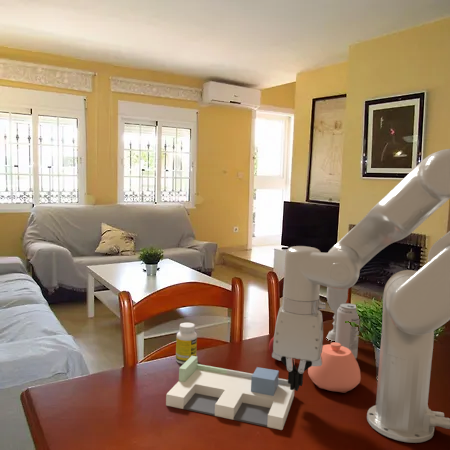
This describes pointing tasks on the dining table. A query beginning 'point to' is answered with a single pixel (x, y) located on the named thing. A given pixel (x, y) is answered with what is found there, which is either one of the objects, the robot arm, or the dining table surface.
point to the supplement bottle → (186, 342)
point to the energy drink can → (347, 327)
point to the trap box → (229, 395)
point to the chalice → (335, 306)
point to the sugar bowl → (336, 369)
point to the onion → (271, 345)
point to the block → (264, 381)
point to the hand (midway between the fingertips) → (294, 387)
